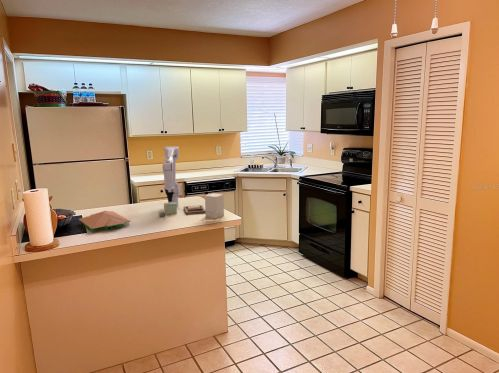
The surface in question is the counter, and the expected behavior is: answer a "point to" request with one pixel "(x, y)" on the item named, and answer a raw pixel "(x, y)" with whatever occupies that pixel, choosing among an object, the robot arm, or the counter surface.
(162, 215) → the charcoal mat
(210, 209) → the supplement box
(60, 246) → the counter surface
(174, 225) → the counter surface
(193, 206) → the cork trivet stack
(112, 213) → the green-backed flat pad
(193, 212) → the walnut rack
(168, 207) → the pale green rectangular block
